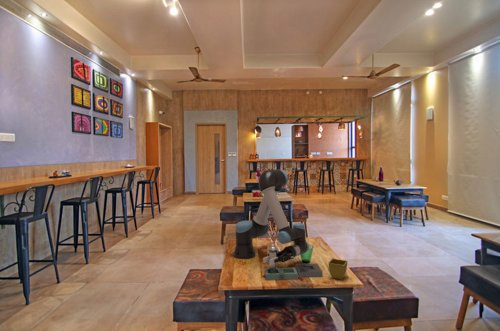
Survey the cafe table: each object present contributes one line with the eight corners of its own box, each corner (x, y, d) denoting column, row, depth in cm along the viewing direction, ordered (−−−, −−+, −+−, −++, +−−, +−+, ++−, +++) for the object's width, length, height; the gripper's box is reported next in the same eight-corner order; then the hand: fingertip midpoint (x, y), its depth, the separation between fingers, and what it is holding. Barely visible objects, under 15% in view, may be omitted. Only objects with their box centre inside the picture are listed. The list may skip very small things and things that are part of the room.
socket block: (295, 268, 184) (295, 264, 184) (316, 268, 184) (316, 263, 184) (299, 277, 171) (299, 272, 171) (322, 276, 171) (322, 271, 171)
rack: (264, 273, 178) (264, 268, 178) (294, 272, 178) (294, 267, 178) (265, 279, 168) (265, 274, 168) (297, 279, 168) (297, 273, 168)
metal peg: (269, 273, 175) (268, 246, 175) (276, 273, 175) (275, 245, 175) (269, 276, 171) (269, 248, 170) (277, 275, 171) (276, 248, 170)
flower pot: (332, 273, 176) (332, 258, 175) (347, 276, 171) (347, 260, 171) (328, 278, 168) (328, 262, 168) (344, 281, 164) (343, 265, 163)
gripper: (303, 260, 180) (278, 271, 163) (280, 254, 192) (255, 264, 175) (302, 248, 180) (278, 258, 163) (280, 243, 191) (255, 251, 175)
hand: (266, 261), depth 169 cm, fingers closed on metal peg, 4 cm apart
